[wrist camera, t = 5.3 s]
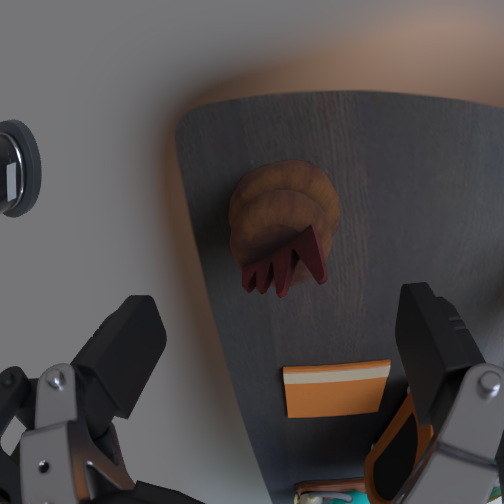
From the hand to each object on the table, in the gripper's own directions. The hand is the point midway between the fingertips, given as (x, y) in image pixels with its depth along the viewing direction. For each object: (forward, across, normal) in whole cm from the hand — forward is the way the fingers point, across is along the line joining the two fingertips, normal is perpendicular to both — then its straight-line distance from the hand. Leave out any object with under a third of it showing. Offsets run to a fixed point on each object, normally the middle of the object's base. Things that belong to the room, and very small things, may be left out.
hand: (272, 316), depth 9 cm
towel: (+16, -4, +24) cm, 29 cm away
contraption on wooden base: (+16, -7, +61) cm, 63 cm away
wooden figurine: (+16, 0, 0) cm, 16 cm away
